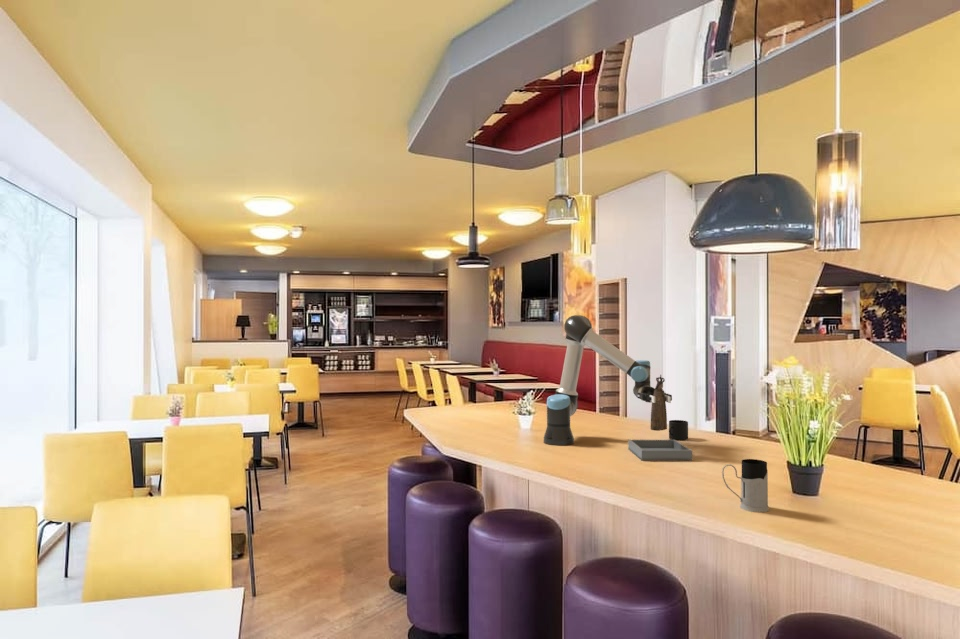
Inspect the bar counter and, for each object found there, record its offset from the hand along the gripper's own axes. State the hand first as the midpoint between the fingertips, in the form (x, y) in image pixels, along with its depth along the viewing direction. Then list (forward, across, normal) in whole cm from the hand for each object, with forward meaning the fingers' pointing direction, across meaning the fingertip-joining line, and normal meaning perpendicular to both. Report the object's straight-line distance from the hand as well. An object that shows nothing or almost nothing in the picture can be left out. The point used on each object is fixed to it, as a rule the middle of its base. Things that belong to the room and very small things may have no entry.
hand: (662, 399), depth 270 cm
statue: (-5, 0, -14) cm, 15 cm away
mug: (-42, -20, -26) cm, 53 cm away
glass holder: (+74, -5, -26) cm, 78 cm away
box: (-5, 0, -26) cm, 26 cm away
